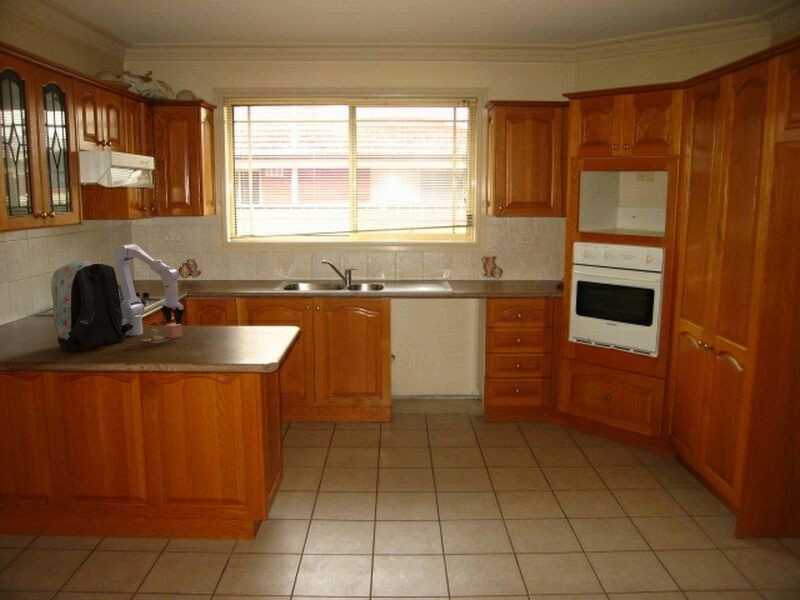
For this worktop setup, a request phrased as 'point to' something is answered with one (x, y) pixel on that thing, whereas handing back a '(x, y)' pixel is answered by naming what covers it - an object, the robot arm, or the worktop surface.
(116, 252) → the robot arm
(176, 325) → the pink rectangular block
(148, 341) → the board
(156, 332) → the post
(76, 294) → the backpack
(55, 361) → the worktop surface
